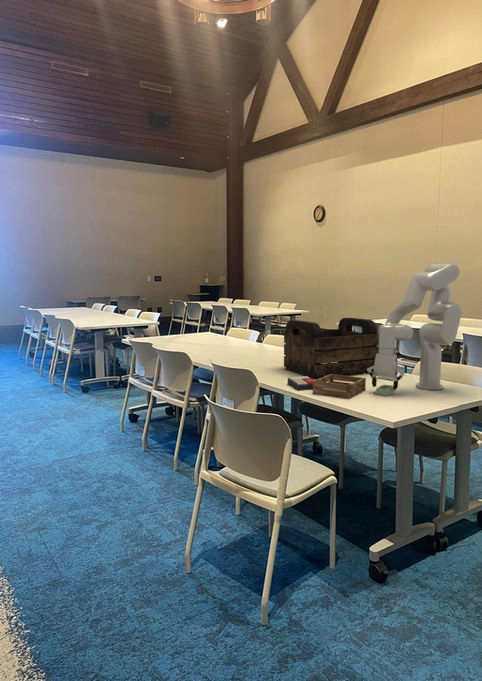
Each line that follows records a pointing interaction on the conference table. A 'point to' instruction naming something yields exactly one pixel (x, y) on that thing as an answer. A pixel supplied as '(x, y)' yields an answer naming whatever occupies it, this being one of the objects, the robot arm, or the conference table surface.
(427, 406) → the conference table surface
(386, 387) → the box
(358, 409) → the conference table surface
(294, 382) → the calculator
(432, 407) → the conference table surface
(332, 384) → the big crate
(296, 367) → the wooden crate
